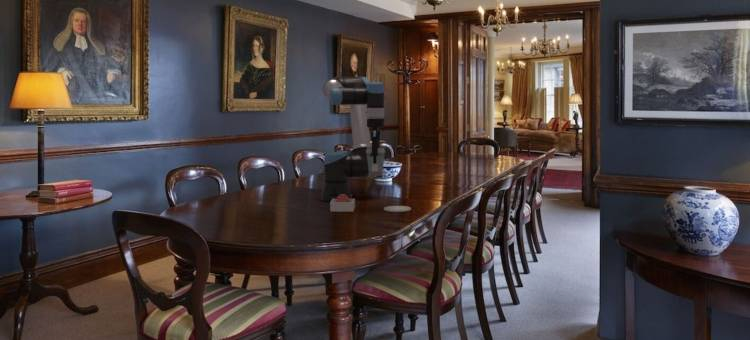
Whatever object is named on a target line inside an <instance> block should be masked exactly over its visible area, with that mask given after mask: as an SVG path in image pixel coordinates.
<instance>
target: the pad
mask: <svg viewBox="0 0 750 340" xmlns="http://www.w3.org/2000/svg"><path fill="white" fill-rule="evenodd" d="M411 210H412V207H410V206H407V205H389V206H388V205H387V206H385V207H383V211H386V212H390V213H391V212H392V213H402V212H410V211H411Z"/></svg>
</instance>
